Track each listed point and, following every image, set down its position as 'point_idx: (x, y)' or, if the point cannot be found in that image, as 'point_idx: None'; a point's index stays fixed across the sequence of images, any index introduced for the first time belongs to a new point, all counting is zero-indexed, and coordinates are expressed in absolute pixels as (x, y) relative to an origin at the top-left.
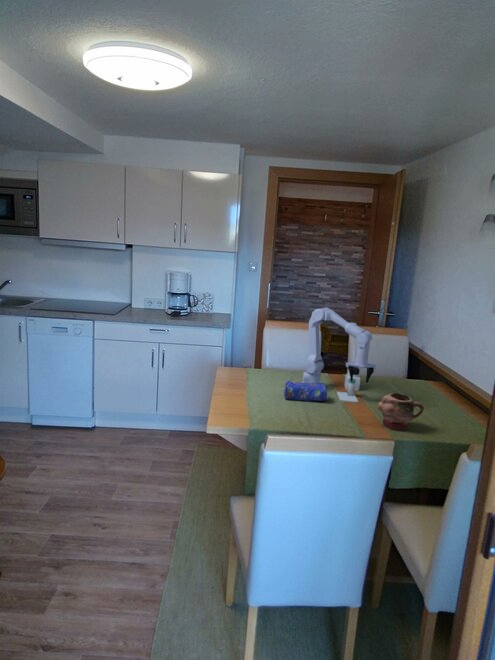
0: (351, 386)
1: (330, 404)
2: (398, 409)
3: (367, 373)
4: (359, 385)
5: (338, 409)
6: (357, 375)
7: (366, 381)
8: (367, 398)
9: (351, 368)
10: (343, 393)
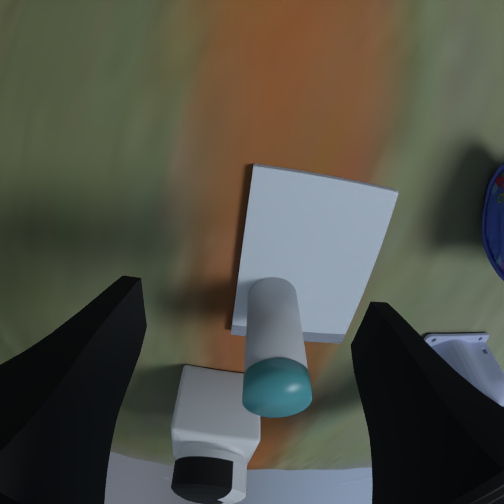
0: (285, 335)
1: (479, 129)
2: None
3: (91, 429)
4: (179, 391)
5: (459, 36)
6: (189, 452)
7: (136, 301)
8: (150, 262)
9: (491, 493)
10: (311, 318)
